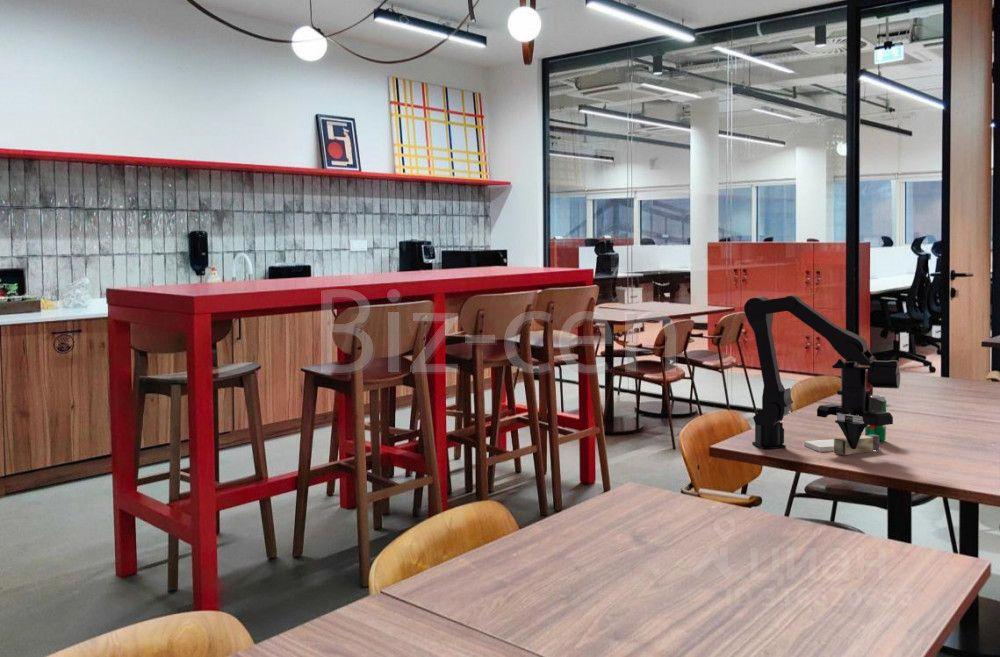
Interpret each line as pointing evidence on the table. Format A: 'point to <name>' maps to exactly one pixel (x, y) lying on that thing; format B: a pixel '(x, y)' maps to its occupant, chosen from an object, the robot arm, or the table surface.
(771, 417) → the robot arm
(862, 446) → the leg
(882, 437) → the soda can
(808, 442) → the board
